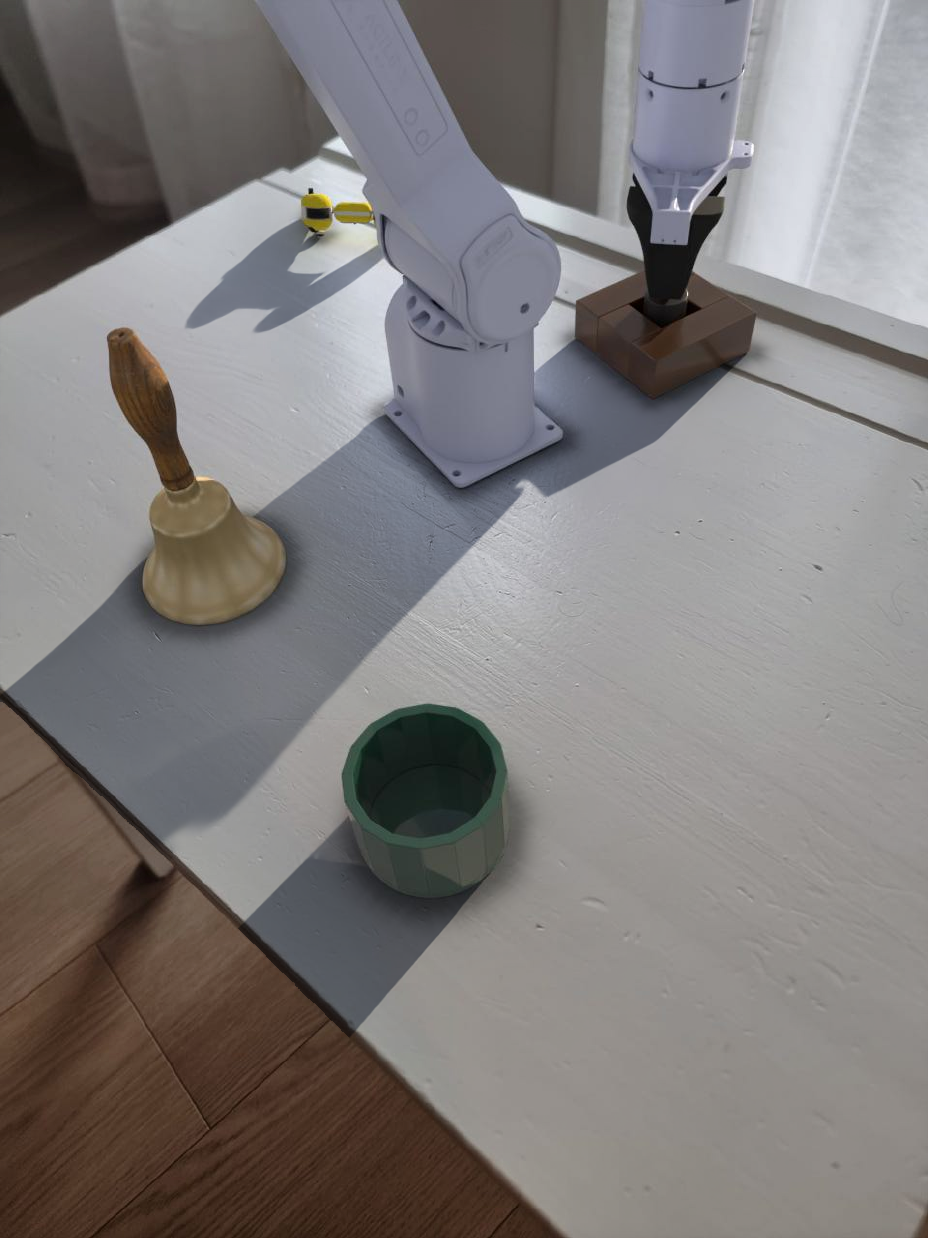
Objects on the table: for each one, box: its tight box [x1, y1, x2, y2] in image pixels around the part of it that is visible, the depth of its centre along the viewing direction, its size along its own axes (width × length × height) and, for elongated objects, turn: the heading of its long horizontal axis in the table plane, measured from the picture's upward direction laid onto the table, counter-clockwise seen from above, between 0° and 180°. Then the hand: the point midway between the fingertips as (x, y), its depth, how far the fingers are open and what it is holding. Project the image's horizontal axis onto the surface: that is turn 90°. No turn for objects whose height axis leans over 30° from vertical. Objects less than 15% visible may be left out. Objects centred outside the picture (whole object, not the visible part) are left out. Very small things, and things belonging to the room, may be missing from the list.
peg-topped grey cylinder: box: [643, 288, 688, 328], centre depth 65 cm, size 3×3×8 cm
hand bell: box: [106, 326, 287, 626], centre depth 51 cm, size 8×8×16 cm
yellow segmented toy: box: [300, 187, 376, 238], centre depth 79 cm, size 10×6×4 cm, turn 80°
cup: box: [340, 703, 511, 899], centre depth 44 cm, size 7×7×5 cm
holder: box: [574, 269, 758, 400], centre depth 67 cm, size 8×8×3 cm
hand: (666, 287), depth 65 cm, fingers closed
